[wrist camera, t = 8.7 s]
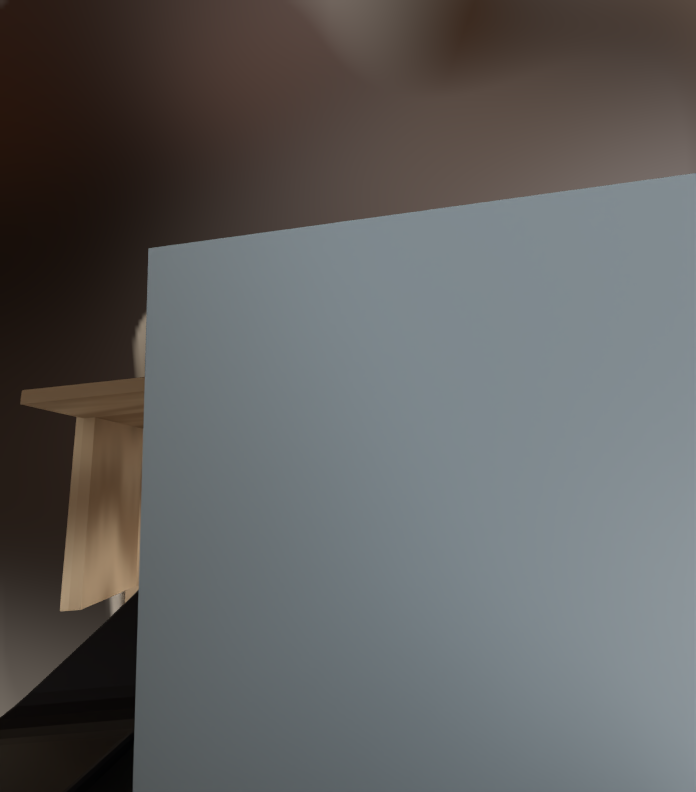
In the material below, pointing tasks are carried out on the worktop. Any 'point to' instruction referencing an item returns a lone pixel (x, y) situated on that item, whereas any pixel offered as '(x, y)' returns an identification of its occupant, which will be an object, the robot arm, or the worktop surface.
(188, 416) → the slate block
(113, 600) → the worktop surface
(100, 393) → the kraft carton
